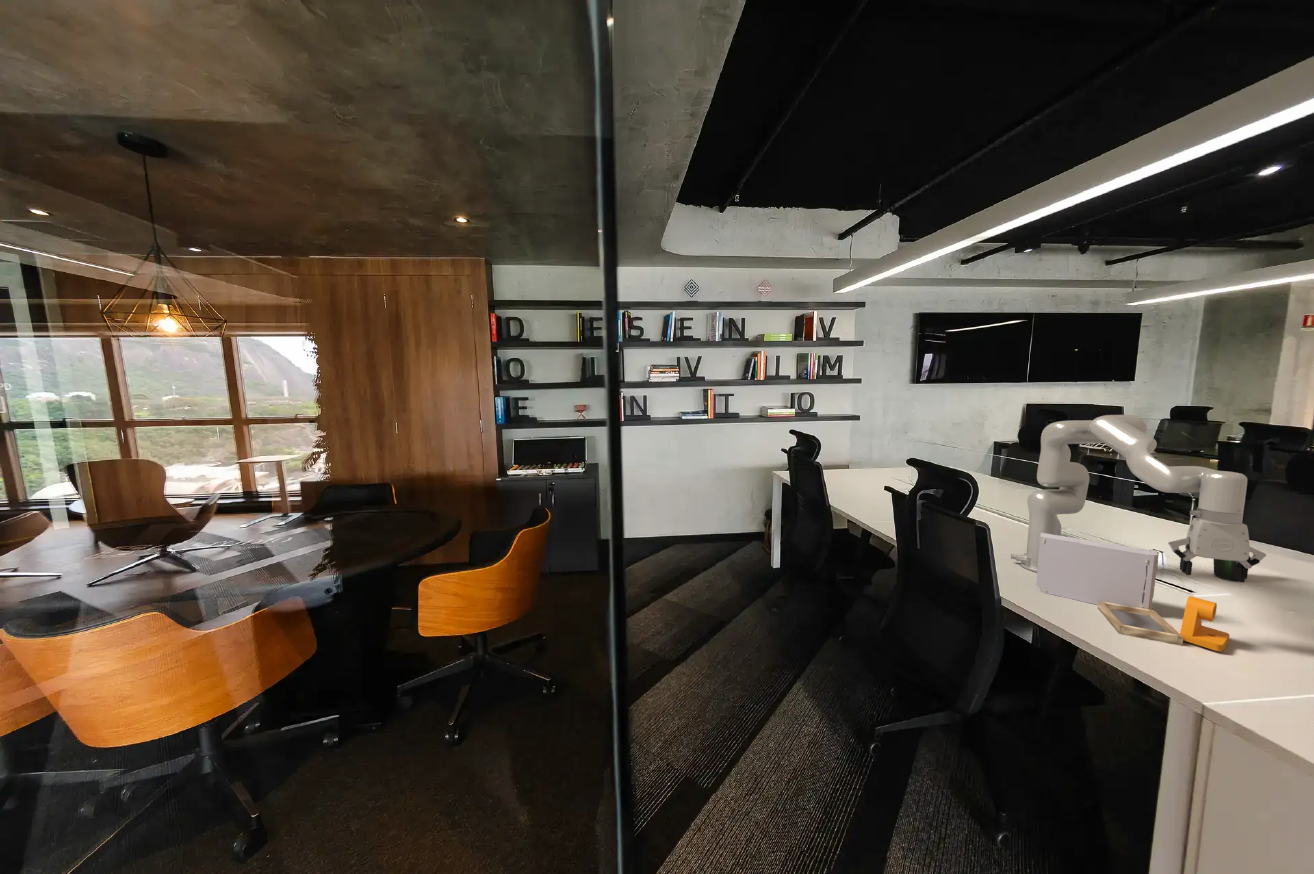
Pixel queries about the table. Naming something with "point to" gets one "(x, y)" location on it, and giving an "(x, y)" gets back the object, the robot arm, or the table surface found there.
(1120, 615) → the wooden tray
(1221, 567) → the potion bottle
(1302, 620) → the table surface
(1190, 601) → the bracket
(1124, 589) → the game console
